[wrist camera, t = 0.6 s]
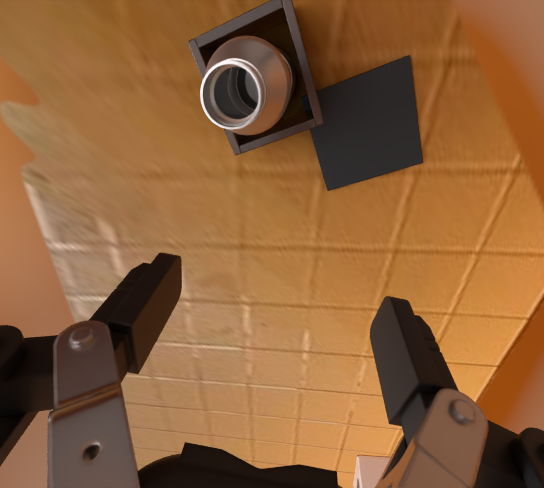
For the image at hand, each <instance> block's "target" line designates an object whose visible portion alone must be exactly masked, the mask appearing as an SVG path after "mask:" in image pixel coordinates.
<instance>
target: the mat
mask: <svg viewBox="0 0 544 488" xmlns="http://www.w3.org/2000/svg"><path fill="white" fill-rule="evenodd" d="M316 94H317V97H318V101H319V105H320V109H321V113H322V116H323V120H324V124H322V125H319V126H316V127H314V128H311V129H310V131H311V135H312V138H313V142H314V145H315V149H316V152H317V156H318V159H319V163H320V166H321V170H322V173H323V177H324V180H325V184H326V187H327V191H330V190H333V189H336V188H340V187H343V186H346V185H350V184H353V183H356V182H360V181H363V180H366V179H370V178H373V177H377V176H380V175H383V174H387V173H390V172H393V171H397V170H400V169H403V168H407V167H410V166H413V165H417V164H420V163H423V161H422V152H421V144H420V135H419V127H418V118H417V110H416V101H415V93H414V84H413V76H412V67H411V59H410V56H406V57H403V58H401V59H398V60H396V61H393V62H390V63H388V64H385V65H383V66H380V67H378V68H375V69H373V70H370V71H367V72H365V73H362V74H360V75H357V76H355V77H352V78H350V79H347V80H345V81H342V82H339V83H337V84H334V85H332V86H329V87H327V88H324V89H322V90H319V91H316ZM301 100H302V104H303V107H304V110H305V111H307V110H309V109H311V105H310V102H309V98H308V95H306V96H304V97H301Z"/></svg>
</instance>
